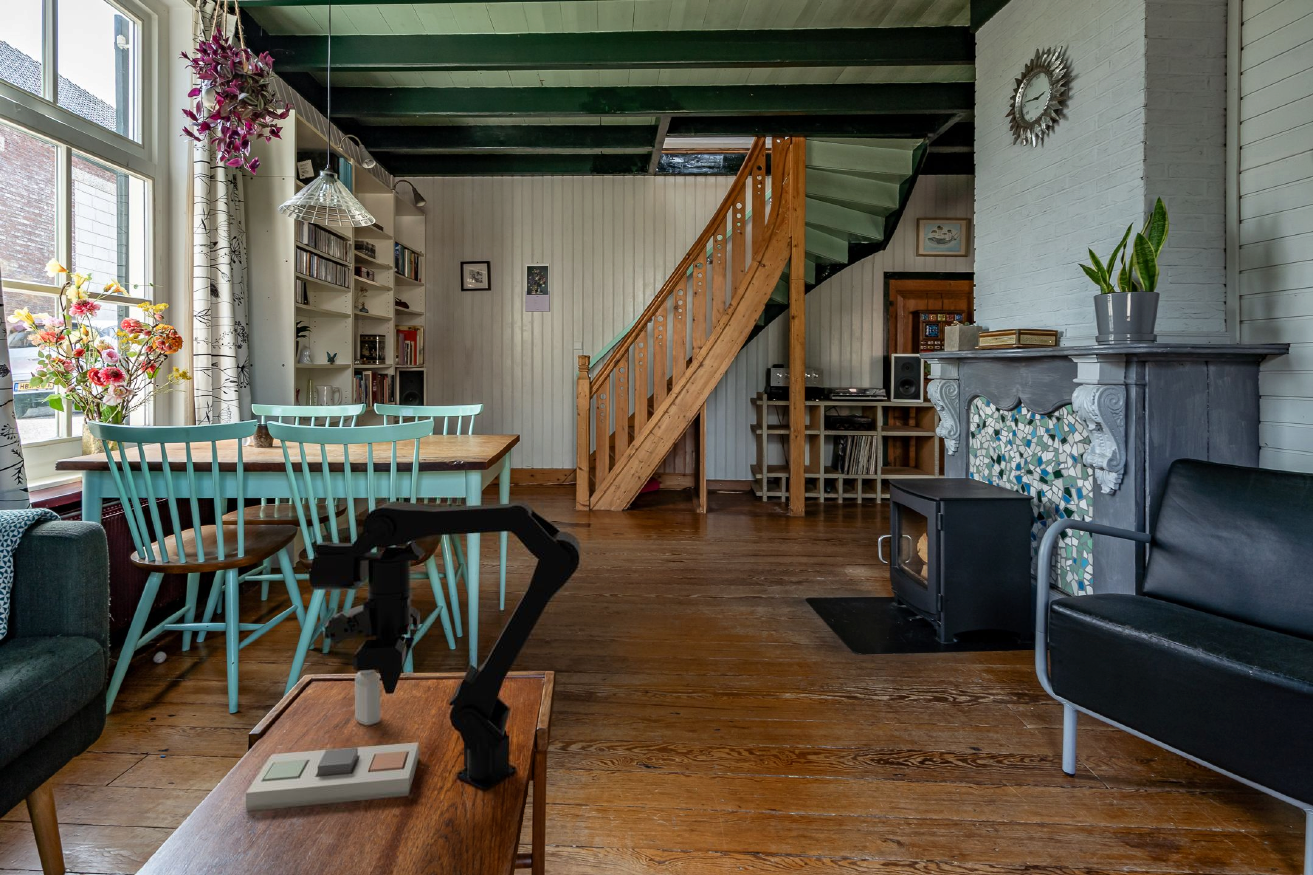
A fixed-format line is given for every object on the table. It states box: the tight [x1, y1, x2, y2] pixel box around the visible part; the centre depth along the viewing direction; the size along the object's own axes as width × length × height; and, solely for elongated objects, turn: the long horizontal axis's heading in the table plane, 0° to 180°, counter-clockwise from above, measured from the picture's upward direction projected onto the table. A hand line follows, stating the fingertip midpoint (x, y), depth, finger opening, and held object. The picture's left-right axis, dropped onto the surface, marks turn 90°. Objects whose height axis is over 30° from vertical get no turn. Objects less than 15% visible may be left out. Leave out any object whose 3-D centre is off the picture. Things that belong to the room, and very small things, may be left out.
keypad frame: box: [245, 742, 420, 812], centre depth 99 cm, size 21×10×3 cm, turn 102°
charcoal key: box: [318, 747, 358, 777], centre depth 99 cm, size 4×4×2 cm
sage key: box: [264, 759, 307, 781], centre depth 98 cm, size 4×4×2 cm
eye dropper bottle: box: [354, 670, 381, 726], centre depth 118 cm, size 4×6×12 cm
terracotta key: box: [370, 751, 407, 772], centre depth 101 cm, size 4×4×2 cm
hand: (390, 692), depth 100 cm, fingers closed
